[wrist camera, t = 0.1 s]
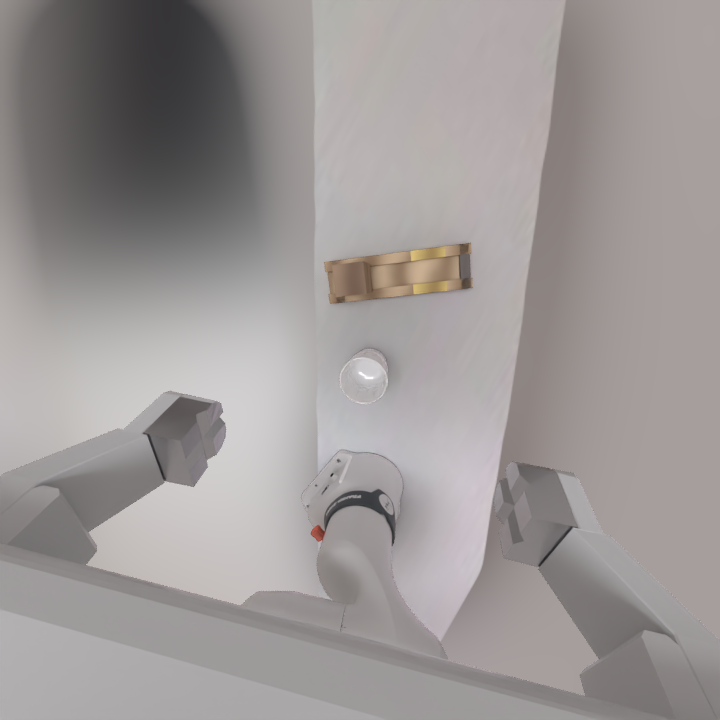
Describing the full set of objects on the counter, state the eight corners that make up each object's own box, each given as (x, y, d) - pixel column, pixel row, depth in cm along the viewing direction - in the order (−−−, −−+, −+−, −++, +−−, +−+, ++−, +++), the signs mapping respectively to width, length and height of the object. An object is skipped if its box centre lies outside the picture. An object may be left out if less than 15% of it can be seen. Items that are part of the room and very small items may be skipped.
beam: (334, 302, 61) (329, 303, 57) (328, 263, 59) (324, 262, 56) (468, 287, 57) (472, 287, 53) (466, 245, 55) (470, 242, 52)
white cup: (389, 344, 61) (386, 356, 52) (391, 384, 63) (388, 403, 53) (347, 346, 62) (337, 358, 53) (351, 385, 64) (341, 404, 55)
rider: (348, 294, 58) (336, 297, 48) (345, 267, 57) (331, 265, 47) (373, 291, 57) (366, 293, 47) (370, 264, 56) (363, 261, 46)
